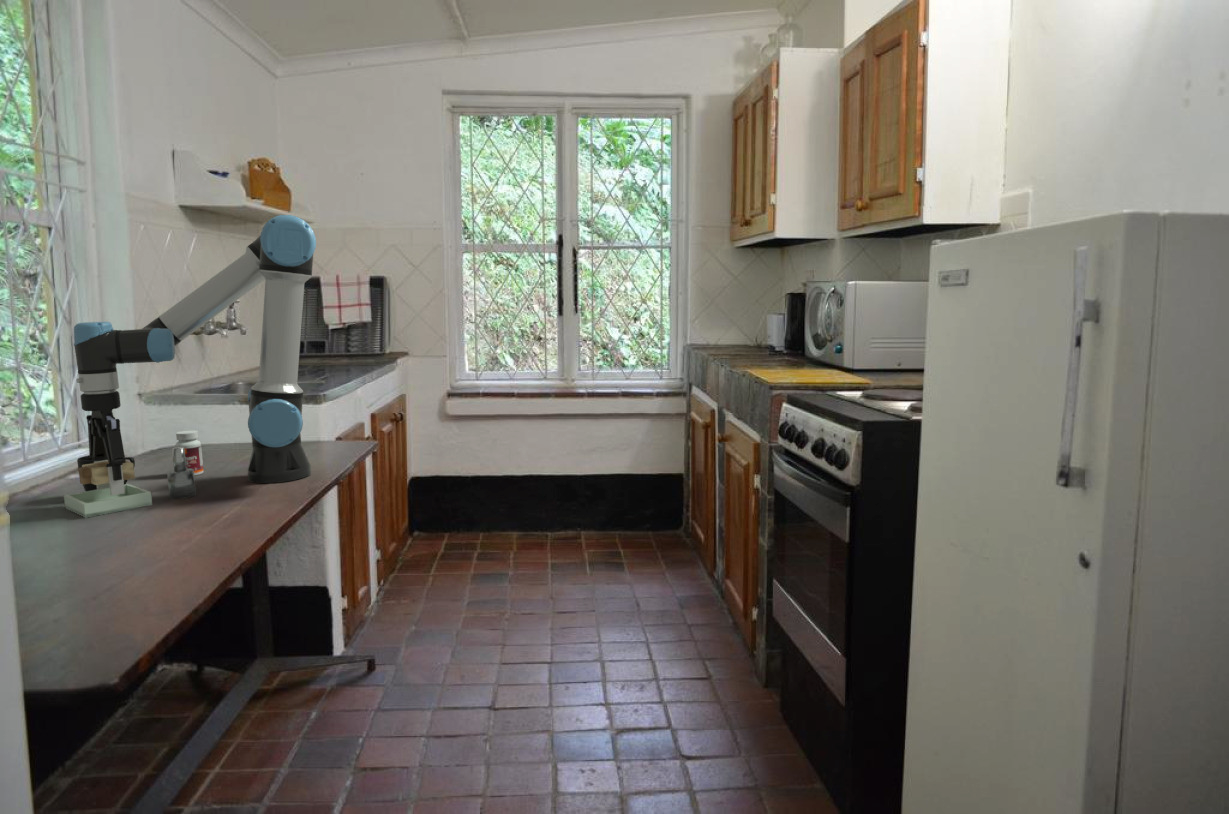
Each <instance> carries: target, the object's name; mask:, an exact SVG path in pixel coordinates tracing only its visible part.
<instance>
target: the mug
mask: <svg viewBox="0 0 1229 814" xmlns="http://www.w3.org/2000/svg"><path fill="white" fill-rule="evenodd" d="M116 459H117V458H116ZM104 460H108V459H104ZM125 460H126V461H128V460H129V462H131V463H133V465H134V467H135V466H136V465H135V464H136V462H135V458H134V457H131V456H125ZM76 461H77V470H78V472H79V468H81V467H82V465H85V464H92V463H94V462H95V461H93V459H92V457H90V456H89V455H84V456H81V457H78V458H77V459H76ZM128 481H129V480H124V485H125V484H128ZM82 487H83V489H84V492H86V491H92V490H97V485H94V484H92V483H90V484H84V485H83V484H82Z"/></svg>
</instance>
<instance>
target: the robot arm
mask: <svg viewBox="0 0 1229 814" xmlns="http://www.w3.org/2000/svg"><path fill="white" fill-rule="evenodd" d="M316 247H317V239H316V235H315V232H314V231H313V228H312V227H311V225H310V224H309V223H308V222H307V221H305V220H304V219H303V218H300V217H298V216H296V215H291V214H281V215H277V216H274V217H272V218H270V219H269V220H268V221H266V223H265V224H264V225H263V227H262V230H261V232H260V235H258V237H257V238H255V240H253V241H252V242H250V244H248V245H247V246H246V248H245V252H244V254H242V255H240V257H238V258H237V259H235V260H234V261H233V262H231V263H230V264H228V265H227V266H226V267H225V268H223V269H222V270H221V271H219V272H218V273H216V274H215V275H214V276H212V277H210V278H209V279H208V280H207V281H205V282H204V283H202V284H201V285H200V286H199V287H197V288H196V289H195V290H193V291H192V292H191V293H189V294H187V295H186V296H185V297H184V298H182V299H181V300H180V301H178V302H177V303H175V304H174V305H173V306H171V307H170V308H168V310H166V311H164V312H163V313H161V314H160V315H159V316H158V317H157V318H155V319H154V320H152V321H150V322H149V323H148V324H147V325H145V326H144V327H142V328H139V329H136V328H135V329H123V330H122V329H119V330H117V329H114V327H113V324H112V323H111V322H110V321H91V322H90V321H89V322H88V321H87V322H78V323H76V324H75V325H74V326H73V336H74V337H73V338H74V343H73V346H74V351H75V352H74V353H75V359H76V367H77V375H78V378H76V379H75V382H76V383H78V384H79V391H81V392H82V393H81V394H80V402H81V403H80V404H81V410H83V411H84V412H91V414H90V415H86V417H85V418H86V422H87V433H88V449H89V450H88V453H89V456H90V457H92V459H93V461H95V462H94V463H98V462H105V461H108V462H109V464H106V465H105V466H106V467H108V476H109V483H105V484H100V485H97V490H102V489H107V488H110V494H111V496H113V495H118V494H124V493H125V489H124V480H123V471H122V465H123V463H125V462H126V461H127V459H126V460H125V457H126V456H125V452H124V451H125V450H124V445H123V444H124V443H123V439H122V432H121V421H120V419H119V418H116V417H115V416H114V414H113V413H114V412H113V410H115V409H119V408H120V407H121V398H120V392H119V391H117V390H119V388H120V384H119V376H118V369H117V365H118V364H121V365H122V364H123V365H124V364H141V363H143V364H144V363H156V364H157V363H163V362H170V361H173V360H174V359H175V356H176V346H177V345H179V344H180V343H181V342H182V341H183V340H185V339H186V338H188V337H189V336H191V335H192V334H193V333H194V332H196V331H197V330H199V329H200V328H201V327H203V326H204V325H205V324H207V323H209V321H211V320H212V319H214V318H215V317H216V316H218V315H219V314H221V313H222V312H224V310H226V309H227V308H229V307H231V305H232V304H234V303H235V302H237V301H239V299H241V298H242V297H244V296H245V295H246V294H247V293H249V292H251V290H253V289H254V288H256V287H257V286H258V285H259V284H261V283H262V282H264V281H265V283H264V297H263V312H262V326H261V327H262V328H261V341H260V356H259V357H260V358H259V368H258V369H259V371H258V381H257V382H256V383H255V384H253V385H252V386H251V387H250V389H249V391H248V392H247V403H248V411H249V412H248V413H249V416H248V418H247V428H248V430H249V434H250V436H251V445H252V451H251V454H250V459H249V463H248V467H247V471H246V472H247V481H248V482H251V483H258V484H259V483H260V484H261V483H262V484H271V483H273V484H275V483H281V482H282V483H283V482H290V481H295V480H301V479H303V478H306V477H309V476H311V474H312V471H311V470H312V468H311V463H310V461H309V459H308V456H307V455H306V451H305V450H304V448H303V444H302V438H301V437H302V435H301V432H302V429H303V425H304V420H303V416H302V414H303V399H304V390H303V389H302V388H301V386H300V385H299V384H298V378H299V375H298V374H299V362H300V361H299V360H300V349H301V337H302V335H301V333H302V319H303V310H304V308H303V306H304V295H305V294H304V293H305V283H306V282H307V281H309V280H310V279H311V278H312V275H313V263H314V253H315V250H316ZM116 458H117V459H116ZM104 459H108V460H104Z"/></svg>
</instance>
